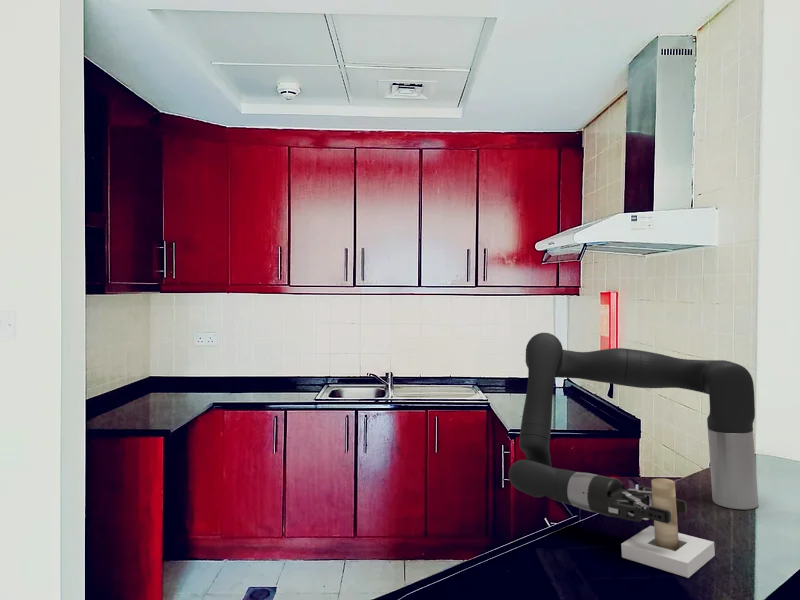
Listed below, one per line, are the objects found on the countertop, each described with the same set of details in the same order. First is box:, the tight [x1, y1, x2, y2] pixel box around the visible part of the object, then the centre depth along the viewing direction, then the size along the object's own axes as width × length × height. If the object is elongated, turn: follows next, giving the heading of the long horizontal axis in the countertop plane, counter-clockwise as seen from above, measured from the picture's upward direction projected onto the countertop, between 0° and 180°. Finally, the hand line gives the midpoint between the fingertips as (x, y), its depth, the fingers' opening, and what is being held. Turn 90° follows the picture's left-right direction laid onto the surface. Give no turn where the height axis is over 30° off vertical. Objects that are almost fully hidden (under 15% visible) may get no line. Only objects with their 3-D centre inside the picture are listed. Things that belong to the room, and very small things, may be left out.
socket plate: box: [620, 525, 716, 579], centre depth 104 cm, size 12×12×2 cm
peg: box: [650, 477, 679, 551], centre depth 104 cm, size 4×4×14 cm
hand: (677, 512), depth 102 cm, fingers open, 6 cm apart
